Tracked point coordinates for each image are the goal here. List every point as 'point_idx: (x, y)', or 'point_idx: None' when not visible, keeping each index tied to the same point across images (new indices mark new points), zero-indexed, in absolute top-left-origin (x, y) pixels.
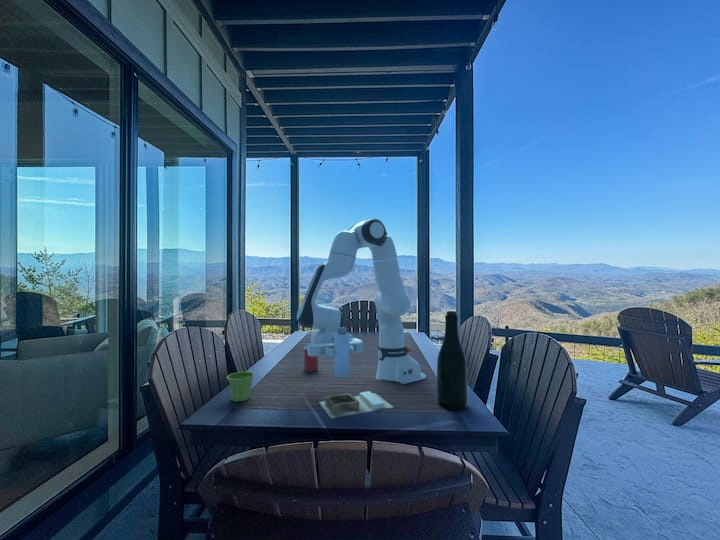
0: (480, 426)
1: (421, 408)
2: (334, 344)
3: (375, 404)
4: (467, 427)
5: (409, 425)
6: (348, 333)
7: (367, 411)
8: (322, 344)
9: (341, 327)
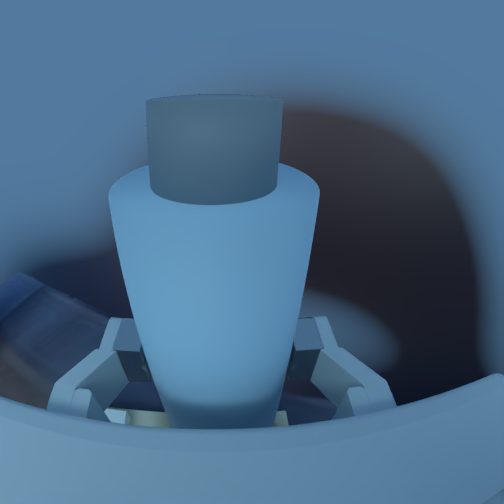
0: (21, 286)
1: (16, 378)
2: (273, 432)
3: (119, 410)
4: (36, 290)
5: (103, 333)
6: (122, 181)
7: (156, 413)
8: (436, 437)
9: (204, 99)
